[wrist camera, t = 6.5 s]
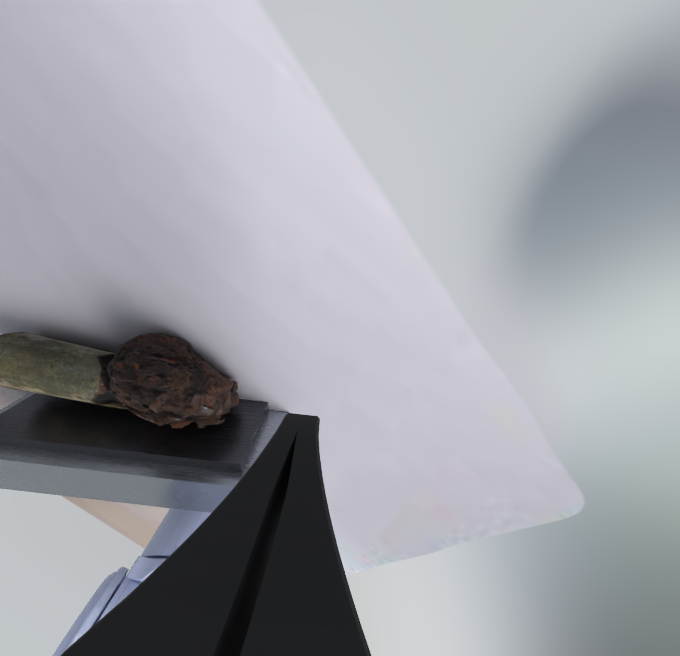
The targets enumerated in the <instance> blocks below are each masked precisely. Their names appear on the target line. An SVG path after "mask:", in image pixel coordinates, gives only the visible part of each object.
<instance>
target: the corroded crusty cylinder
mask: <svg viewBox="0 0 680 656" xmlns="http://www.w3.org/2000/svg"><path fill="white" fill-rule="evenodd" d="M0 386H2V387H6V388H11V389H16V390H23V391H28V392H34V393H39V394H44V395H50V396H56V397H61V398H66V399H71V400H76V401H82V402H87V403H92V404H98V405H103V406H107V407H115V408H121V409H129V411H131V412H133V413H134V414H136V415H137V416H139V417H141V418H143V419H145V420H148V421H151V422H153V423H155V424H157V425H159V426H162V425H164V424H170V425H171V427H172V428H183V427H184V426H186V425H189V424H190V423H192V422H194V421H195V422H196V423H197V426H198V428H205V427H206V425H216V424H220V423H223V422H224V421H225V418H221V416H222V415H224V414H226V413H228V412H229V410H230V408H233V407H234V406H238V404H239V396H238V394H237V393H236V390H237V388H238V385H237V382H236V381H233V380H232V381H231V380H229V378H228V377H226V376H224V375H220V374H219V373H218V372H217V371H216V370H214V369H213V368H212V367H211V366H210V365H208V364H207V362H205V361H204V360H203V359H201V358H199V357H198V356H197V355H195V354H194V352H193V350H192V349H191V345H190V344H189V343H187V342H185V341H183V340H182V339H180V338H176V337H169V336H167V335H165V334H163V333H162V334H161V333H160V334H151V333H150V334H143V335H139V336H137V337H135V338H134V339H132V340H130V341H128V342H126V343H124V344H123V345H121V346H120V347H118V349H117V350H116V351H115V353H111V352H106V351H102V350H98V349H94V348H91V347H86V346H82V345H78V344H73V343H69V342H64V341H60V340H56V339H52V338H47V337H43V336H39V335H34V334H30V333H25V332H17V333H8V334H3V335H0Z"/></svg>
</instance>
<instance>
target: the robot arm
mask: <svg viewBox="0 0 680 656" xmlns="http://www.w3.org/2000/svg"><path fill="white" fill-rule="evenodd" d="M319 421H320V419H319V418H318V417H317V416H310V415H301V414H292V413H288V414H286V415H285V417H284V419H283V420H282V422H281V424H280V425H279V427H278V429H277V430H276V432H275V433H274V435H273V436H272V438H271V439H270V441H269V442H268V444H267V445H266V447H265V448H264V449H263V451H262V452H261V453H260V455H259V456H258V458H257V459H256V460H255V462H254V463H253V464H252V466H251V467H250V468H249V469H248V471H247V472H246V473H245V474H244V476H243V477H242V478H241V479H240V481H239V482H238V483H237V484H236V486H235V487H234V488H233V489H232V490H231V492H230V493H229V494H228V495H227V496H226V497H225V499H224V500H223V501H222V502H221V503H220V504H219V505H218V506H217V508H216V509H215V510H214V511H213V512H212V513H208V512H200V511H191V510H183V509H174V508H170V509H169V511H168V513H167V514H166V516H165V518H164V519H163V521H162V522H161V524H160V526H159V527H158V529H157V531H156V532H155V534H154V536H153V537H152V539H151V540H150V542H149V544H148V545H147V547H146V549H145V550H144V552H143V554H142V555H141V556H139V557H138V558H137V560H136V561H135V563H134V565H133V566H132V568H131V570H130V571H129V573H128V574H127V576H125V575H126V573H127V572H128V569H127V568H125V567H121V568H120V569H119V570H118V571H117V572H114V573H113V574H111V575H109V576H108V577H107V578H106V579H105V580H104V581H103V583H102V584H101V585H100V587H99V588H98V589H97V591H96V592H95V594H94V595H93V596H92V598H91V599H90V601H89V602H88V604H87V605H86V607H85V608H84V610H83V611H82V612H81V614H80V615H79V617H78V618H77V620H76V622H75V623H74V624H73V626H72V627H71V629H70V630H69V632H68V633H67V635H66V636H65V638H64V639H63V641H62V642H61V644H60V645H59V647H58V648H57V650H56V652H55V653H54V655H53V656H371V654H370V651H369V648H368V645H367V642H366V639H365V636H364V633H363V630H362V627H361V624H360V621H359V618H358V615H357V611H356V608H355V605H354V602H353V599H352V596H351V592H350V589H349V585H348V582H347V578H346V575H345V571H344V568H343V565H342V561H341V558H340V554H339V551H338V547H337V543H336V539H335V535H334V531H333V527H332V522H331V518H330V514H329V509H328V504H327V500H326V494H325V489H324V483H323V477H322V470H321V462H320V454H319V438H318V435H319Z"/></svg>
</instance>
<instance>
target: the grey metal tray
mask: <svg viewBox="0 0 680 656" xmlns="http://www.w3.org/2000/svg"><path fill="white" fill-rule="evenodd" d="M286 414H288V413H287V412H278V411H269V410H268V403H266V402H257V401H248V400H239V404H238V406H234V407H233V408H230V410H229V412H228V413H226V414H224V415H222V416H221V418H225V421H224V422H223V423H220V424H216V425H206V427H205V428H198V426H197V423H196V422H195V421H194V422H192V423H190V424H189V425H186V426H184V427H183V428H172V427H171V425H170V424H164V425H162V426H159V425H157V424H155V423H153V422H151V421H148V420H145V419H143V418H141V417H139V416H137V415H136V414H134V413H133V412H131V411H129V409H121V408H115V407H107V406H103V405H98V404H92V403H87V402H82V401H76V400H71V399H66V398H61V397H56V396H50V395H44V394H39V393H34V392H31V393H29V394H27V395H25V396H24V397H22V398H20V399H19V400H17V401H15V402H13V403H12V404H10V405H8V406H6V407H5V408H3V409H1V410H0V488H2V489H11V490H20V491H29V492H36V493H45V494H54V495H62V496H71V497H79V498H88V499H97V500H105V501H114V502H122V503H131V504H140V505H148V506H157V507H165V508H174V509H183V510H191V511H200V512H208V513H212V512H213V511H214V510H215V509H216V508H217V506H218V505H219V504H220V503H221V502H222V501H223V500H224V499H225V497H226V496H227V495H228V494H229V493H230V492H231V490H232V489H233V488H234V487H235V486H236V484H237V483H238V482H239V481H240V479H241V478H242V477H243V476H244V474H245V473H246V472H247V471H248V469H249V468H250V467H251V466H252V464H253V463H254V462H255V460H256V459H257V458H258V456H259V455H260V453H261V452H262V451H263V449H264V448H265V447H266V445H267V444H268V442H269V441H270V439H271V438H272V436H273V435H274V433H275V432H276V430H277V429H278V427H279V425H280V424H281V422H282V420H283V419H284V417H285V415H286Z"/></svg>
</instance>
